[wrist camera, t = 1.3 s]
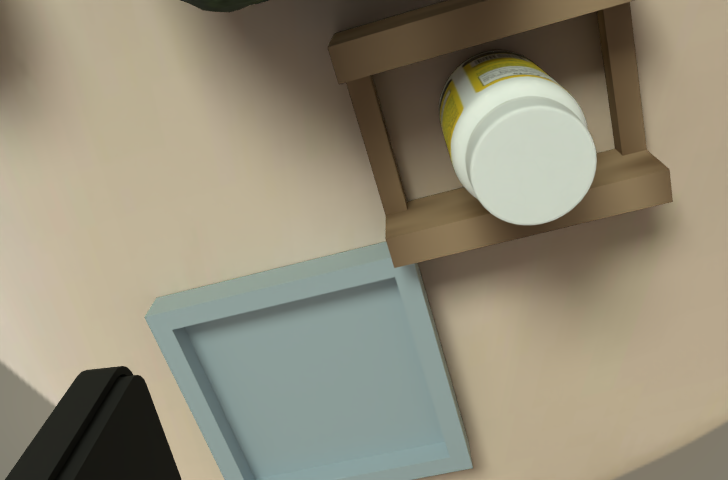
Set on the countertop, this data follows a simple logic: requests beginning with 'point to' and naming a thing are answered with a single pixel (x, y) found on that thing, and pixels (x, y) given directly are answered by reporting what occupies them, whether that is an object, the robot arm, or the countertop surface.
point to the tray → (316, 371)
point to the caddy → (458, 207)
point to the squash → (222, 4)
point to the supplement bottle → (516, 138)
